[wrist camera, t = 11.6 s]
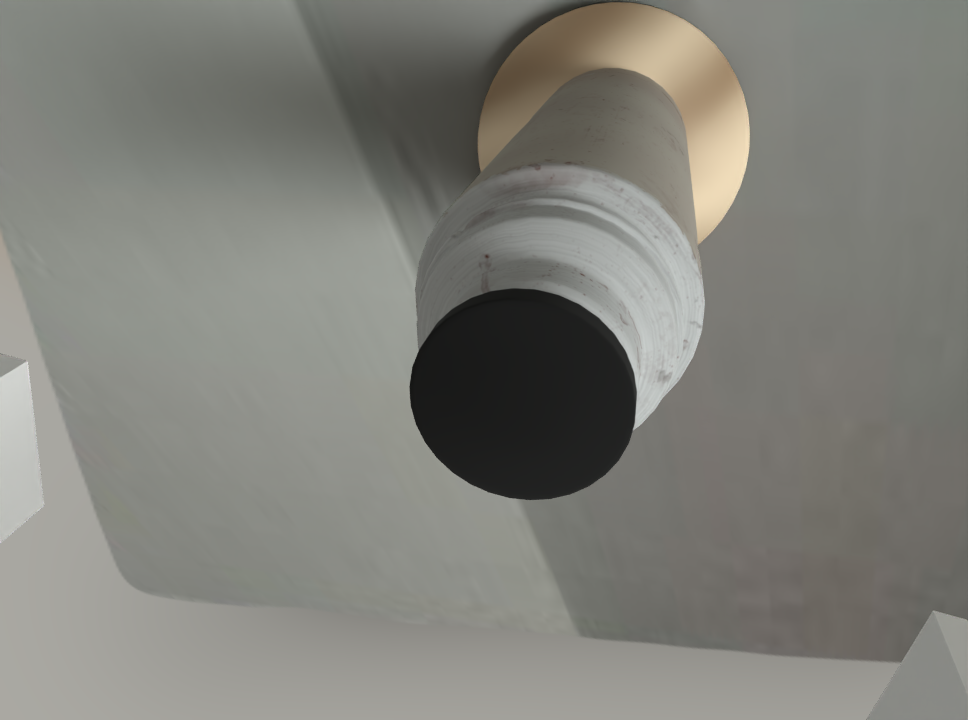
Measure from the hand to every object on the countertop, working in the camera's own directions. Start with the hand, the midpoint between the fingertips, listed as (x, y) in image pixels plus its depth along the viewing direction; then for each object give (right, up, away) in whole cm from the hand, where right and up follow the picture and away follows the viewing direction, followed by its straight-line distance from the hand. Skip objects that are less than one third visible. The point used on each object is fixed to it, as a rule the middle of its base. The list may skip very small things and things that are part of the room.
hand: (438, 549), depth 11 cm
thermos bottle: (+7, +14, +30) cm, 34 cm away
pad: (+7, +14, +31) cm, 35 cm away
